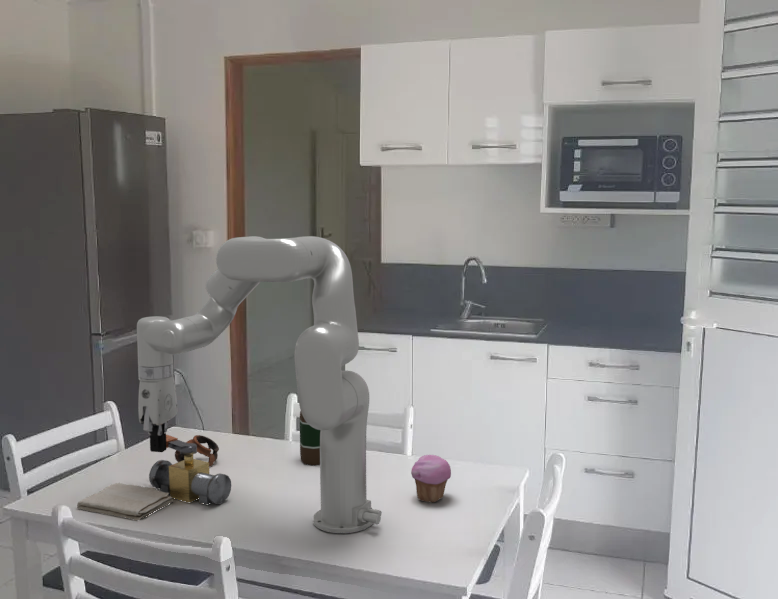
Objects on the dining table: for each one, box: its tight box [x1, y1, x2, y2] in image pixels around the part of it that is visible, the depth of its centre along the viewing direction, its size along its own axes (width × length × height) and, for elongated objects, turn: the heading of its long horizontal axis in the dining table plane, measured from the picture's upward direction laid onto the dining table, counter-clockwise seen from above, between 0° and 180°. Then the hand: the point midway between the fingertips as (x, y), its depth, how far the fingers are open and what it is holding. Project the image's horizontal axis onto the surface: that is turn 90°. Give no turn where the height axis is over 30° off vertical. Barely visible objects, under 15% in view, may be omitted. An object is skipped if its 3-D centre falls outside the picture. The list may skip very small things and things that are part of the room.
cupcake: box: [410, 454, 452, 503], centre depth 171 cm, size 9×9×10 cm
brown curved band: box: [174, 434, 220, 467], centre depth 194 cm, size 12×10×8 cm
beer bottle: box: [299, 410, 321, 466], centre depth 196 cm, size 8×8×24 cm
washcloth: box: [76, 482, 174, 521], centre depth 168 cm, size 12×18×3 cm, turn 68°
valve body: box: [148, 454, 232, 505], centre depth 173 cm, size 19×6×10 cm, turn 59°
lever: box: [166, 434, 198, 455], centre depth 175 cm, size 4×13×2 cm, turn 48°
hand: (158, 450), depth 174 cm, fingers closed
